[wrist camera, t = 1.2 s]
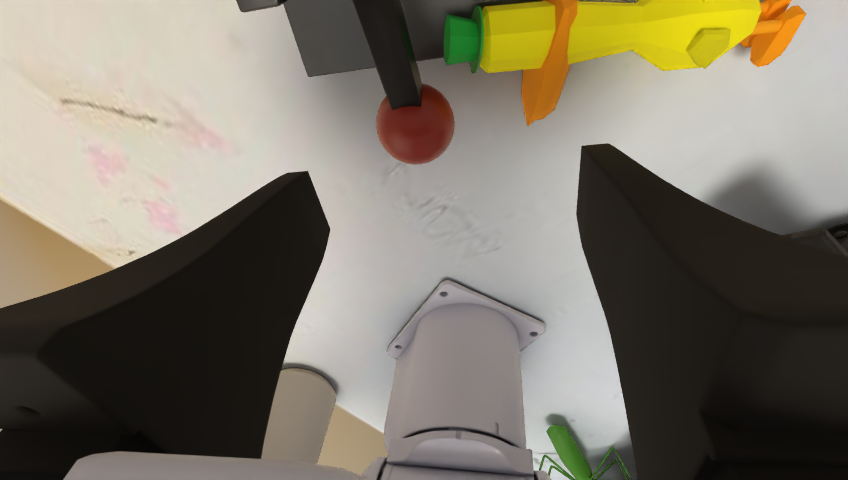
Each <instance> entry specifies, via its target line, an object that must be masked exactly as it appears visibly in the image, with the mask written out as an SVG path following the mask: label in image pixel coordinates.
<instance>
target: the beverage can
mask: <svg viewBox="0 0 848 480" xmlns="http://www.w3.org/2000/svg"><path fill="white" fill-rule="evenodd" d="M335 402H336V394H335V392H334V390H333V388H332V387H331V385H330V383H329V382H328V381H327V380H326V379H325V378H324V377H322V376H321V375H319V374H317V373H315V372H312V371H309V370H305V369H299V368H289V369H284V370H281V372H280V376H279V379H278V383H277V387H276V391H275V395H274V399H273V403H272V408H271V412H270V417H269V421H268V426H267V430H266V435H265V439H264V445H263V451H262V456H261V459H269V460H287V461H301V462H307V463H313V464H317V462H318V459H319V456H320V452H321V449H322V446H323V442H324V439H325V436H326V432H327V429H328V426H329V422H330V419H331V415H332V412H333V409H334V406H335Z"/></svg>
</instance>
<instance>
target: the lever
mask: <svg viewBox="0 0 848 480" xmlns="http://www.w3.org/2000/svg"><path fill="white" fill-rule="evenodd" d="M352 2H353V5H354V7H355V10H356V13H357V16H358V19H359V21H360V24H361V27H362V30H363V32H364V35H365V38H366V41H367V43H368V46H369V49H370V52H371V54H372V57H373V60H374V63H375V65H376V68H377V71H378V74H379V76H380V79H381V82H382V85H383V87H384V90H385V93H386V97H385V98H384V100H383V101H382V103H381V104H380V107H379V109H378V113H377V117H376V129H377V134H378V138H379V140H380V142H381V144H382V146H383V147H384V149H385V150H386V151H387V152H388V153H389V154H390V155H391V156H392V157H394V158H395V159H397V160H399V161H401V162H404V163H407V164H423V163H427V162H430V161H432V160H434V159H436V158H437V157H439V156H440V155H441V154H442V153H443V152H444V151H445V150H446V149H447V147H448V146H449V144H450V142H451V140H452V137H453V133H454V126H455V121H454V114H453V111H452V108H451V106H450V104H449V102H448V100H447V99H446V98H445V96H444V95H443V94H442V93H441V92H439V91H438V90H437V89H435V88H434V87H431V86H429V85H426V84H422V82H421V78H420V74H419V71H418V67H417V63H416V59H415V55H414V51H413V47H412V44H411V40H410V36H409V32H408V28H407V24H406V20H405V17H404V13H403V9H402V5H401V1H400V0H352Z"/></svg>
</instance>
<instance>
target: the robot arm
mask: <svg viewBox="0 0 848 480" xmlns="http://www.w3.org/2000/svg"><path fill="white" fill-rule="evenodd" d="M576 215H577V221H578V227H579V232H580V238H581V243H582V247H583V251H584V254H585V257H586V260H587V263H588V266H589V269H590V272H591V275H592V278H593V281H594V284H595V287H596V290H597V293H598V296H599V299H600V302H601V305H602V308H603V310H604V313H605V316H606V320H607V323H608V327H609V330H610V334H611V339H612V344H613V348H614V353H615V358H616V363H617V367H618V372H619V377H620V382H621V388H622V393H623V398H624V403H625V408H626V414H627V419H628V425H629V431H630V436H631V442H632V448H633V453H634V459H635V466H636V472H637V478H638V480H848V257H847V256H844V255H840V254H837V253H833V252H830V251H826V250H823V249H820V248H817V247H814V246H811V245H807V244H804V243H801V242H798V241H795V240H793V239H790V238H787V237H784V236H782V235H779V234H776V233H773V232H770V231H768V230H765V229H762V228H760V227H757V226H755V225H752V224H750V223H747V222H745V221H742V220H740V219H738V218H736V217H734V216H731V215H729V214H727V213H725V212H722V211H720V210H718V209H716V208H714V207H712V206H710V205H708V204H706V203H704V202H702V201H700V200H698V199H696V198H694V197H692V196H691V195H689V194H687V193H685V192H683V191H682V190H680V189H678V188H676V187H675V186H673V185H671V184H670V183H668V182H666V181H665V180H663V179H661V178H660V177H658V176H657V175H655V174H654V173H652V172H651V171H649V170H648V169H646V168H645V167H643V166H642V165H640V164H639V163H637V162H636V161H634V160H633V159H631V158H630V157H628V156H627V155H626V154H624V153H623V152H621V151H620V150H618V149H617V148H615V147H614V146H612V145H610V144H597V145H586V146H582V148H581V161H580V173H579V186H578V199H577V212H576ZM329 233H330V227H329V225H328V222H327V219H326V217H325V214H324V212H323V209H322V207H321V204H320V201H319V199H318V196H317V194H316V191H315V188H314V186H313V183H312V181H311V178H310V176H309V173H308V171H303V172H292V173H286V174H284V175H282V176H280V177H278V178H276V179H275V180H273V181H271V182H270V183H268V184H266V185H265V186H263V187H262V188H260V189H259V190H257V191H255V192H254V193H252V194H251V195H249V196H248V197H246V198H245V199H243V200H242V201H240V202H239V203H237V204H236V205H234V206H233V207H231V208H230V209H228V210H226V211H225V212H223V213H222V214H220V215H218V216H217V217H215V218H213V219H212V220H210V221H209V222H207V223H205V224H204V225H202V226H200V227H199V228H197V229H196V230H194V231H192V232H190V233H189V234H187V235H185V236H183V237H181V238H180V239H178V240H176V241H174V242H172V243H170V244H168V245H166V246H164V247H162V248H160V249H158V250H156V251H154V252H152V253H150V254H148V255H146V256H144V257H141V258H139V259H137V260H134V261H132V262H130V263H128V264H125V265H123V266H121V267H118V268H116V269H114V270H112V271H109V272H107V273H104V274H102V275H99V276H97V277H94V278H91V279H89V280H86V281H84V282H81V283H78V284H75V285H72V286H70V287H67V288H64V289H61V290H59V291H55V292H52V293H49V294H46V295H43V296H40V297H37V298H33V299H30V300H27V301H24V302H20V303H17V304H14V305H10V306H7V307H4V308H0V429H2V431H1V432H0V480H551V479H550V477H549V475H548V474H547V473H546V472H545V471H533V458H532V450H530V449H526V437H525V423H524V408H523V393H522V379H521V364H520V352H521V351H522V350H523V349H524V348H526V347H527V346H528V345H529V344H531V343H532V342H533V341H534V340H535V339H537V338H538V337H539V336H540V335H542V334H543V333H544V332H545V331H546V327H545V324H544V323H543V322H541V321H538V320H536V319H534V318H532V317H530V316H527V315H525V314H523V313H521V312H519V311H516V310H514V309H512V308H510V307H508V306H505V305H503V304H501V303H499V302H497V301H494V300H492V299H490V298H488V297H486V296H483V295H481V294H479V293H477V292H475V291H472V290H470V289H468V288H466V287H463V286H461V285H459V284H457V283H455V282H452V281H449V280H445V281H443V282H441V283H440V285H439V286H438V287H437V288H436V289H435V291H434V292H433V293H432V294H431V296H430V297H429V298H428V299H427V300H426V302H425V303H424V304H423V305H422V307H421V308H420V309H419V310H418V311H417V313H416V314H415V315H414V316H413V318H412V319H411V320H410V321H409V322H408V324H407V325H406V326H405V327H404V329H403V330H402V331H401V332H400V333H399V335H398V336H397V337H396V338H395V340H394V341H393V342H392V343H391V344H390V346H389V347H388V349H387V354H388V355H389V356H391V357H393V358H396V359H397V364H396V370H395V375H394V380H393V385H392V390H391V396H390V401H389V406H388V411H387V416H386V422H385V427H384V440H385V447H386V450H387V453H388V456H387V458H385V457H377V458H375V459H374V461H373V462H372V463H371V465H370V466H369V467H368V468H367V469H366V470H365V471H364V472H363V474H362V476H360V475H358V474H356V473H353V472H351V471H348V470H345V469H342V468H337V467H331V466H324V465H318V464H313V463H307V462H301V461H287V460H269V459H261V456H262V451H263V445H264V439H265V435H266V430H267V426H268V421H269V417H270V412H271V408H272V403H273V399H274V395H275V391H276V387H277V383H278V379H279V376H280V372H281V368H282V364H283V361H284V358H285V354H286V351H287V348H288V344H289V341H290V338H291V335H292V332H293V329H294V327H295V324H296V321H297V319H298V317H299V315H300V312H301V310H302V308H303V305H304V303H305V301H306V298H307V296H308V294H309V291H310V289H311V287H312V284H313V282H314V280H315V277H316V275H317V272H318V270H319V268H320V265H321V263H322V260H323V257H324V253H325V250H326V246H327V242H328V237H329ZM442 291H445V292H442Z"/></svg>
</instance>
